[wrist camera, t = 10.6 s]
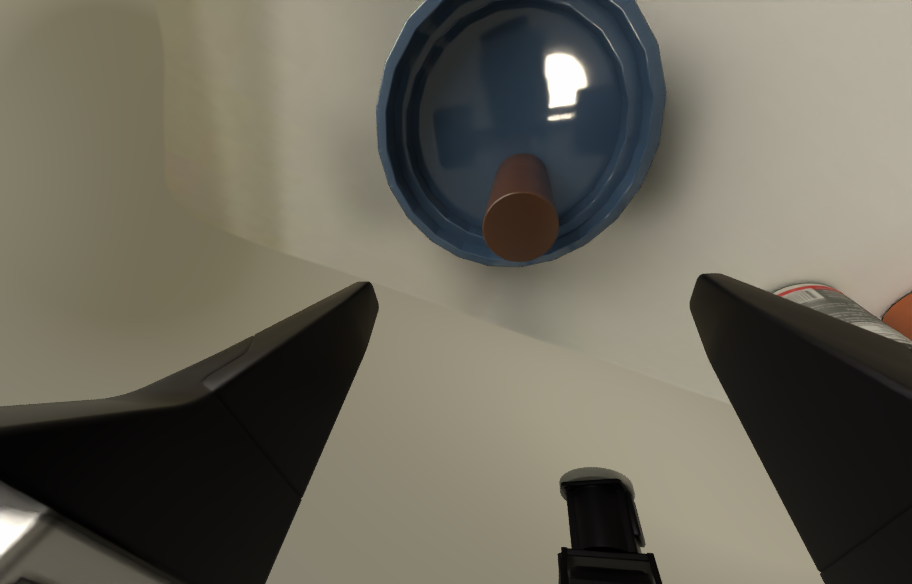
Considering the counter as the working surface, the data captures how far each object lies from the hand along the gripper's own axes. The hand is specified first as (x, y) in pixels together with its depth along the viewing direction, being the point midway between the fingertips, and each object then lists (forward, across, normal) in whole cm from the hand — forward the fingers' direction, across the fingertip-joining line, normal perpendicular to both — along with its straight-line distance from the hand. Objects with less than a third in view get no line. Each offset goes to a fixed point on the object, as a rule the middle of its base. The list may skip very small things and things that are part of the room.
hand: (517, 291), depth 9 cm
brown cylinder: (+8, 0, 0) cm, 8 cm away
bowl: (+12, 0, -2) cm, 12 cm away
